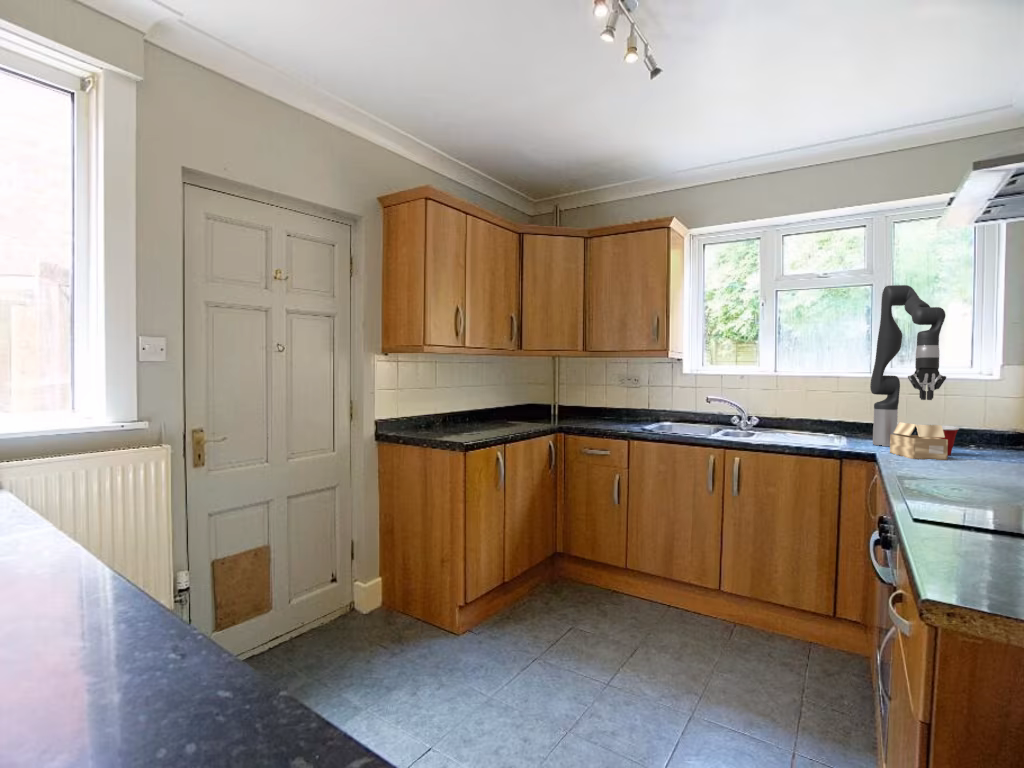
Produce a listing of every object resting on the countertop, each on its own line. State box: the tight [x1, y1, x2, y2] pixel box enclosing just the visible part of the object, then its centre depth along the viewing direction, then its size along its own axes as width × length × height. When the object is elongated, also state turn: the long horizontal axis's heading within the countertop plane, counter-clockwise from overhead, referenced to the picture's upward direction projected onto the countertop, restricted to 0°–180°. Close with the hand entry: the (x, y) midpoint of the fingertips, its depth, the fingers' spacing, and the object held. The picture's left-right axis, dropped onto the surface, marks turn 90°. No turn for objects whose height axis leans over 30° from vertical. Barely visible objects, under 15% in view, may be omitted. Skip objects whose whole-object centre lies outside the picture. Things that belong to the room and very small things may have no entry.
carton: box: [889, 434, 948, 461], centre depth 213 cm, size 16×12×8 cm
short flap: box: [915, 424, 945, 438], centre depth 206 cm, size 9×5×1 cm
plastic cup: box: [935, 424, 960, 457], centre depth 221 cm, size 11×11×12 cm
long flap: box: [893, 421, 917, 436], centre depth 214 cm, size 11×5×1 cm
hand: (926, 399), depth 213 cm, fingers closed
